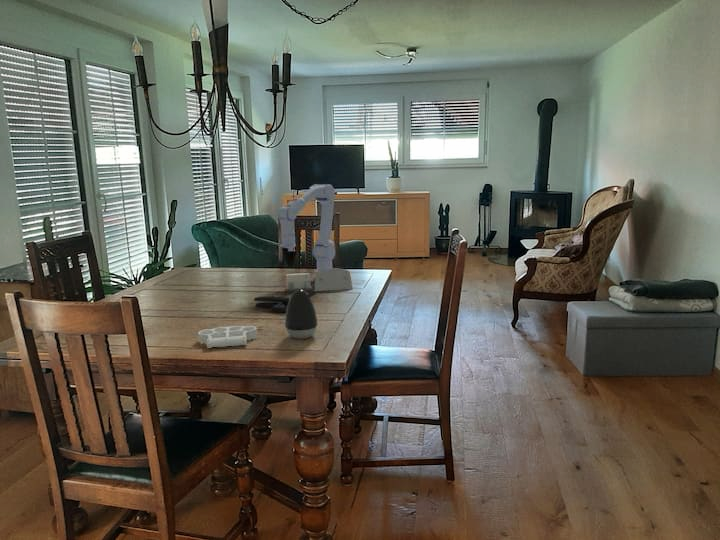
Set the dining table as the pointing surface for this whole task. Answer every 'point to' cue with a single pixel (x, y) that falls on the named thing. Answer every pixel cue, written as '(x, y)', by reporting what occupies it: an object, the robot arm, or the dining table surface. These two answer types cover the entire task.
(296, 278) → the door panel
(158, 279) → the dining table surface
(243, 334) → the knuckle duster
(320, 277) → the grey curved block
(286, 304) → the can opener
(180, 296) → the dining table surface
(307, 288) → the clip bracket
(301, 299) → the dark grey tapered dome
